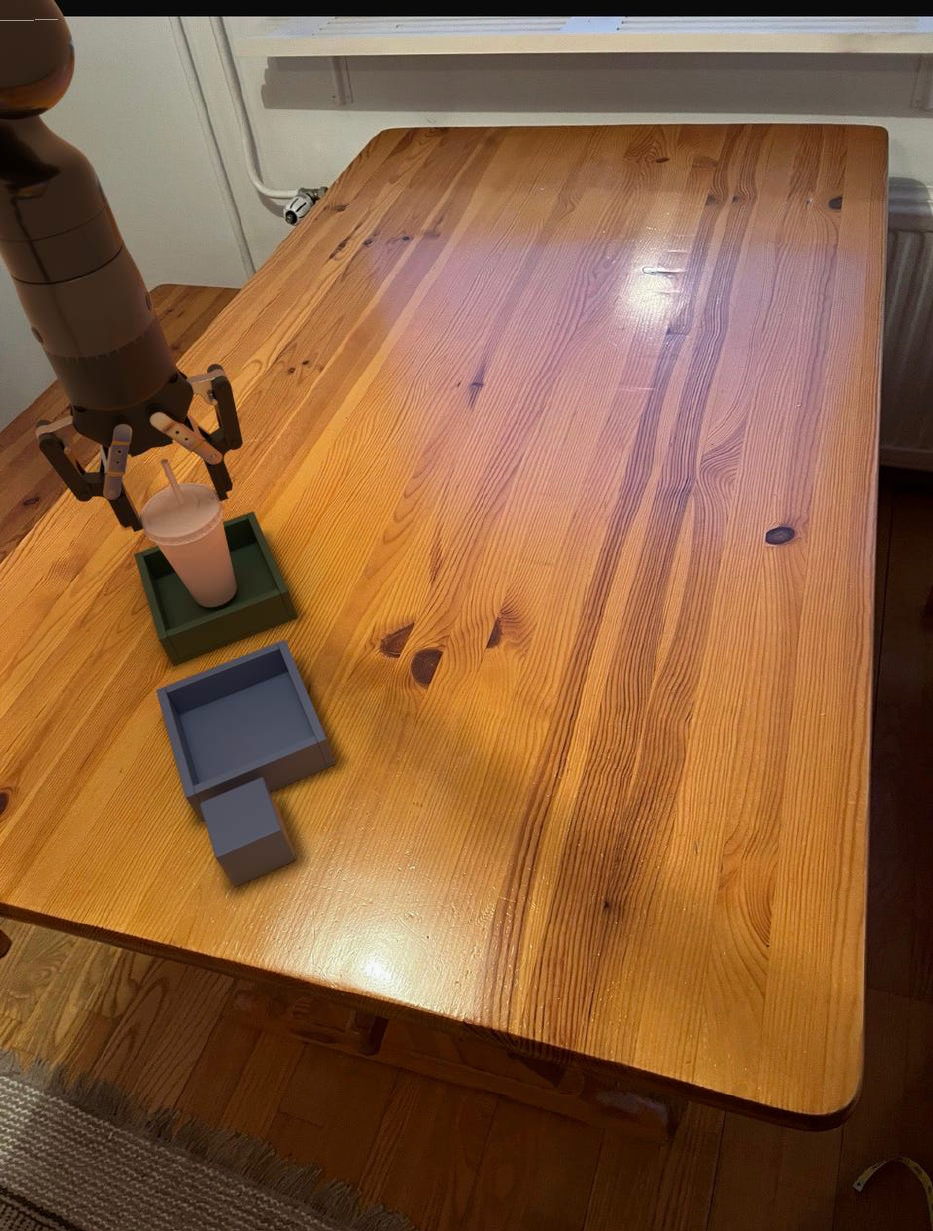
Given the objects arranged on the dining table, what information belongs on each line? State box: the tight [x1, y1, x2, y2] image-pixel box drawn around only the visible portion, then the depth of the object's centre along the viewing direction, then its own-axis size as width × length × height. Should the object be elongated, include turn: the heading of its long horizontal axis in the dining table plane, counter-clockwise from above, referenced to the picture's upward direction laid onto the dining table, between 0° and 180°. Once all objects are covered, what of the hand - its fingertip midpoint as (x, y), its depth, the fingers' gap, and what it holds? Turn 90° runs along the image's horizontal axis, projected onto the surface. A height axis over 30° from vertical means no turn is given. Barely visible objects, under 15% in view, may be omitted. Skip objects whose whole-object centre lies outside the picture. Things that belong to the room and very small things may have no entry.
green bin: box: [133, 511, 299, 667], centre depth 80 cm, size 11×11×4 cm
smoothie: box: [139, 458, 237, 607], centre depth 75 cm, size 6×6×14 cm
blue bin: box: [155, 639, 337, 822], centre depth 70 cm, size 10×10×4 cm
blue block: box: [200, 777, 298, 888], centre depth 64 cm, size 4×4×4 cm
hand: (179, 508), depth 73 cm, fingers closed on smoothie, 6 cm apart
